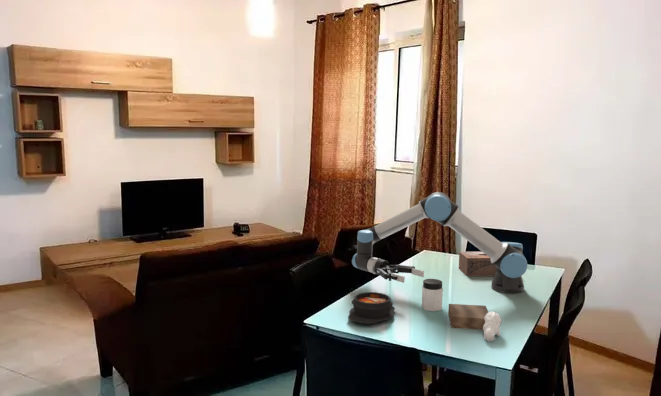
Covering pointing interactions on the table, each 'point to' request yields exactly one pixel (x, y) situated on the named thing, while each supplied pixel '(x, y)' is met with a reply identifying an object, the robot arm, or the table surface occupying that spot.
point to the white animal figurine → (491, 326)
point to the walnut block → (467, 316)
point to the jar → (432, 294)
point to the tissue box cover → (476, 264)
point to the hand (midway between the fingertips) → (413, 276)
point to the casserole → (371, 308)
